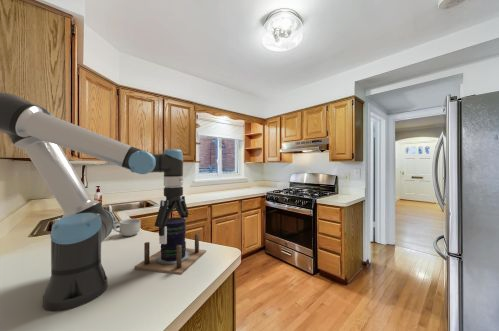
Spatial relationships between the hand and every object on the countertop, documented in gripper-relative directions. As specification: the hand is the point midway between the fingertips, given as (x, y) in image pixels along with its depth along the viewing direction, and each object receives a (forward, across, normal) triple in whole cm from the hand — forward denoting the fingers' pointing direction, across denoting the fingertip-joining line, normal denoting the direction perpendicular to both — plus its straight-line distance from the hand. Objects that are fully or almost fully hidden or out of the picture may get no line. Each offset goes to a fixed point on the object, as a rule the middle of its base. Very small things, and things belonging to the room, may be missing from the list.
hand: (173, 237), depth 86 cm
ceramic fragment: (+10, +35, +63) cm, 73 cm away
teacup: (+10, +23, +45) cm, 52 cm away
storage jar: (+8, 0, 0) cm, 8 cm away
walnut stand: (+10, 0, 0) cm, 10 cm away
